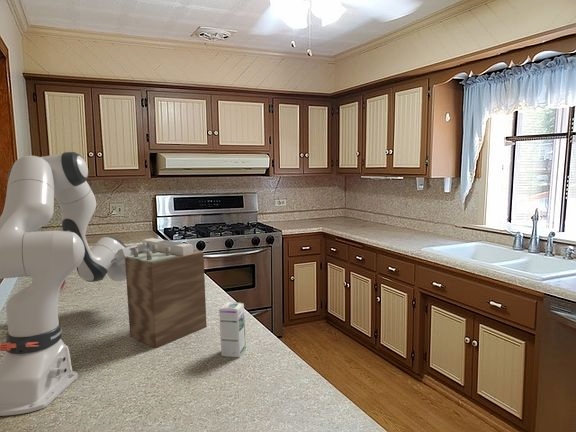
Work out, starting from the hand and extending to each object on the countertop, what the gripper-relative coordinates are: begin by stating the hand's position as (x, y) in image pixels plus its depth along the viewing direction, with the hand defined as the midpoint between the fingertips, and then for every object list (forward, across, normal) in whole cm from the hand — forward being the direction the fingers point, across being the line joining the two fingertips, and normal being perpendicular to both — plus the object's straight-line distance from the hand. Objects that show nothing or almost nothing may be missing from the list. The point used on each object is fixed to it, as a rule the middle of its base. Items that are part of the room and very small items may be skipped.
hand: (153, 242), depth 146 cm
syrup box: (+21, -3, +45) cm, 49 cm away
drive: (+5, 0, +5) cm, 7 cm away
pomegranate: (-75, -5, -11) cm, 76 cm away
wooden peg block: (-3, -4, +30) cm, 31 cm away
